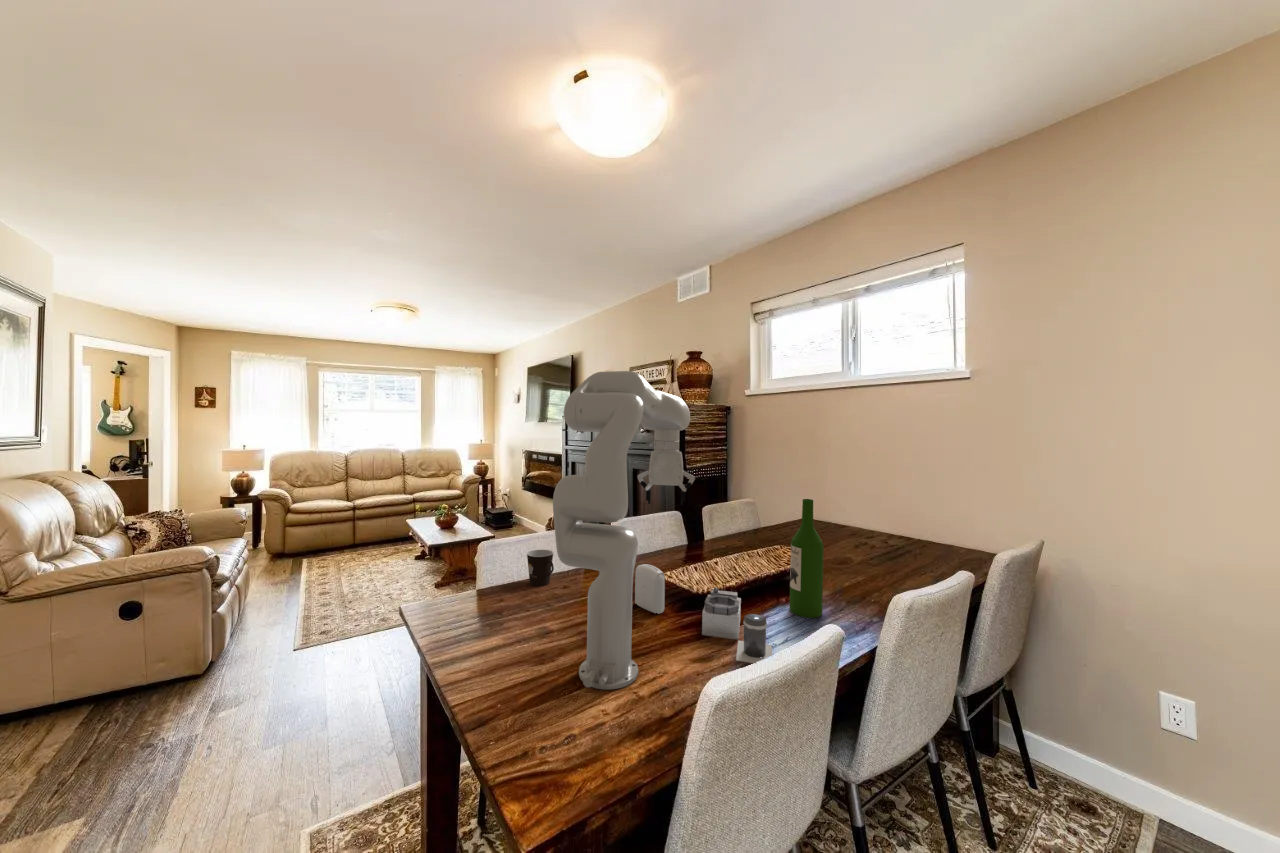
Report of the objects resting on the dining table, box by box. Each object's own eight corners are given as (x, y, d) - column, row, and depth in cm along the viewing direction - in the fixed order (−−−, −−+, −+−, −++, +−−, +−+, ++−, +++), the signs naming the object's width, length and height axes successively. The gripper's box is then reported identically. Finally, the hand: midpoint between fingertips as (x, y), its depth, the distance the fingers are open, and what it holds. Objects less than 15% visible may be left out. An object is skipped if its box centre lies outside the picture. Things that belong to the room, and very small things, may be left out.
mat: (772, 667, 102) (772, 665, 102) (735, 661, 104) (736, 660, 104) (771, 646, 112) (771, 644, 112) (738, 642, 114) (738, 640, 114)
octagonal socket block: (738, 641, 114) (738, 607, 114) (701, 636, 117) (702, 603, 117) (740, 619, 127) (741, 589, 127) (707, 615, 129) (708, 586, 129)
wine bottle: (782, 607, 136) (785, 497, 136) (807, 604, 139) (809, 496, 139) (803, 619, 128) (806, 502, 128) (829, 615, 131) (831, 501, 131)
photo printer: (632, 604, 137) (633, 562, 137) (643, 600, 139) (644, 560, 139) (655, 615, 129) (656, 571, 129) (666, 612, 132) (667, 568, 131)
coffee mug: (525, 579, 156) (526, 550, 156) (551, 577, 159) (551, 548, 159) (527, 591, 145) (528, 560, 145) (555, 589, 148) (556, 558, 148)
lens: (766, 659, 105) (767, 623, 105) (742, 656, 106) (743, 620, 106) (766, 648, 110) (766, 614, 110) (743, 645, 111) (744, 611, 111)
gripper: (636, 446, 135) (635, 504, 135) (696, 448, 134) (694, 507, 134) (639, 445, 143) (638, 500, 143) (695, 447, 141) (694, 502, 141)
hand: (665, 503), depth 138 cm, fingers open, 9 cm apart
